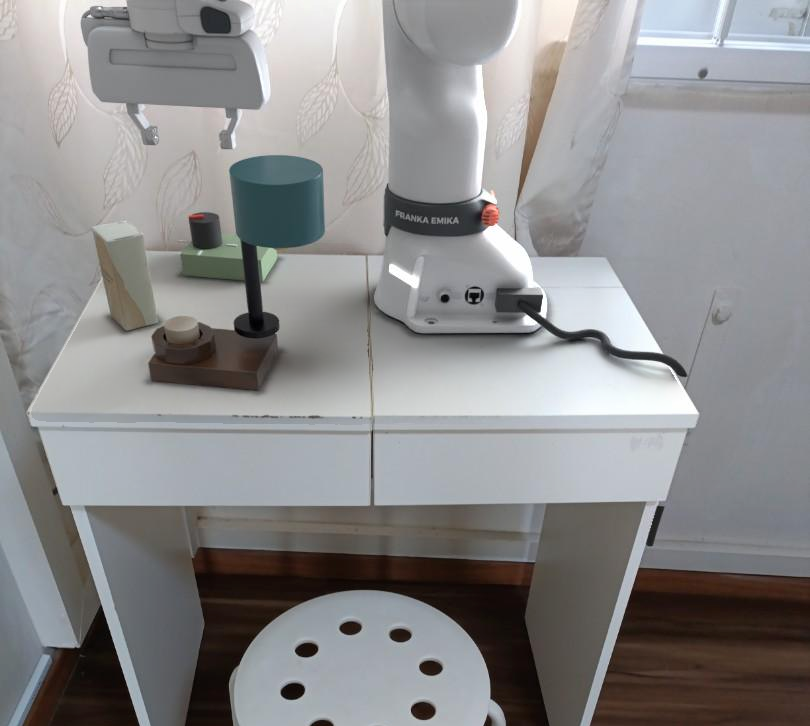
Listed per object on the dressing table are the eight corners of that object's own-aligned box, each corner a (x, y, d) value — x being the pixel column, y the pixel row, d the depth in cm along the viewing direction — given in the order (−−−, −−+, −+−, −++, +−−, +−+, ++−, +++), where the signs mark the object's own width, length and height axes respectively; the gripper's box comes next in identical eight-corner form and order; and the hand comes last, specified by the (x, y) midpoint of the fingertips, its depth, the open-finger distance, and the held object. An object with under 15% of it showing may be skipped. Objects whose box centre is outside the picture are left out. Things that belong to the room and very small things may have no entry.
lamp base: (278, 350, 93) (275, 319, 90) (258, 390, 86) (255, 357, 84) (176, 341, 94) (171, 310, 91) (149, 380, 87) (142, 347, 84)
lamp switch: (204, 331, 88) (202, 317, 87) (194, 347, 86) (191, 332, 85) (172, 329, 89) (170, 314, 87) (161, 344, 86) (158, 329, 85)
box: (110, 315, 98) (89, 225, 91) (143, 307, 100) (125, 218, 93) (126, 332, 95) (106, 240, 88) (160, 323, 97) (143, 232, 90)
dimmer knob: (219, 236, 110) (216, 208, 108) (224, 247, 107) (221, 219, 105) (190, 239, 109) (186, 211, 107) (194, 250, 106) (190, 221, 104)
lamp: (335, 315, 91) (330, 158, 80) (319, 353, 85) (312, 187, 73) (246, 308, 92) (229, 151, 81) (223, 345, 85) (201, 179, 74)
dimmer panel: (277, 258, 113) (275, 236, 111) (262, 282, 107) (260, 259, 105) (191, 251, 114) (187, 229, 112) (171, 275, 108) (167, 251, 106)
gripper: (64, 9, 84) (95, 149, 94) (254, 17, 83) (266, 158, 93) (87, 0, 89) (115, 134, 98) (267, 8, 88) (278, 142, 97)
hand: (190, 146), depth 95 cm, fingers open, 8 cm apart
